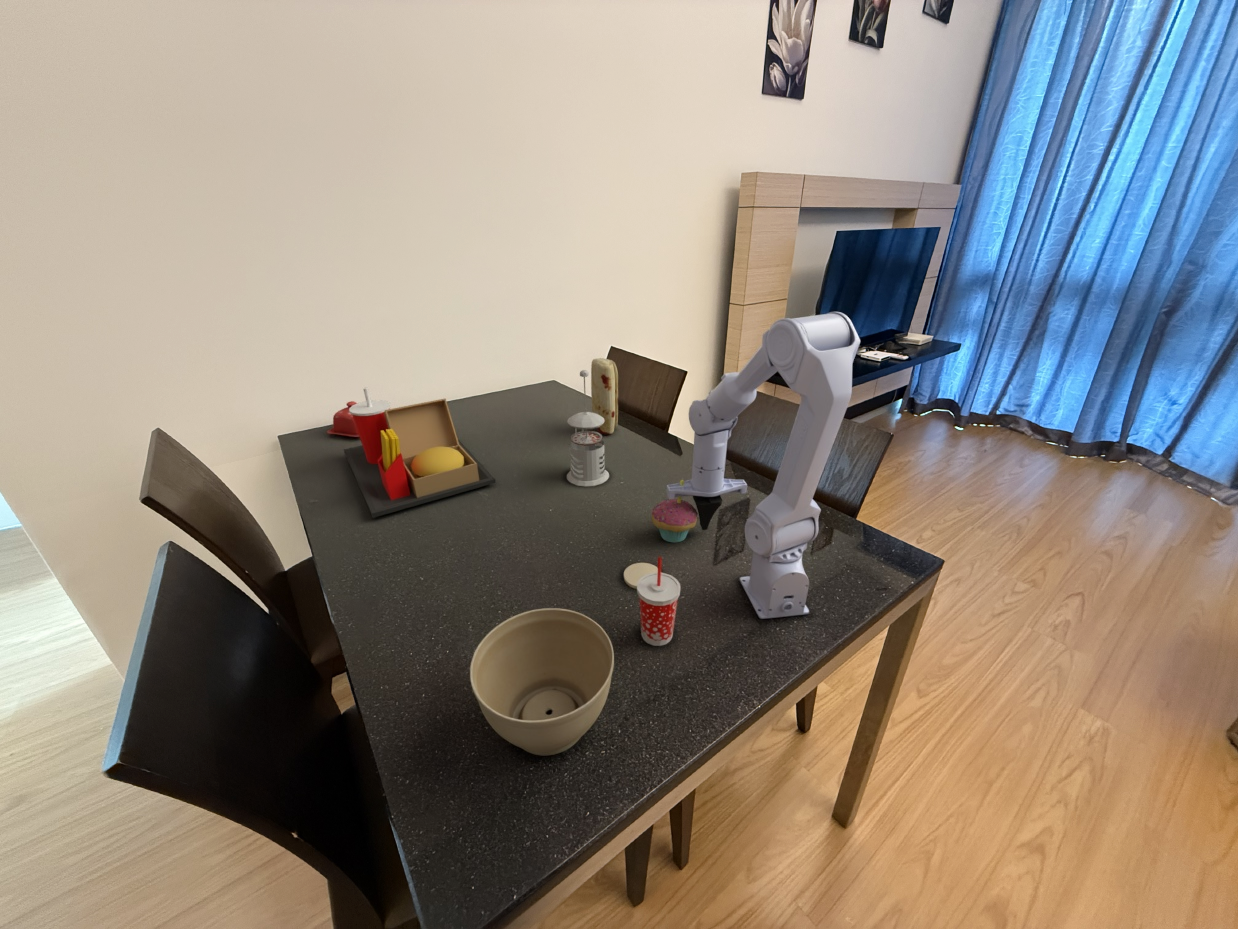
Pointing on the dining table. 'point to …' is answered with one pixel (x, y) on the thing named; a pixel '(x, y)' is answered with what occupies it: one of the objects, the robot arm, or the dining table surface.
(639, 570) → the coaster
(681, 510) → the cupcake
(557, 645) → the planter bowl
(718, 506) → the robot arm
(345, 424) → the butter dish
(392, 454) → the fast food meal
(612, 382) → the food model
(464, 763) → the dining table surface
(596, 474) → the french press
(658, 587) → the beverage cup
